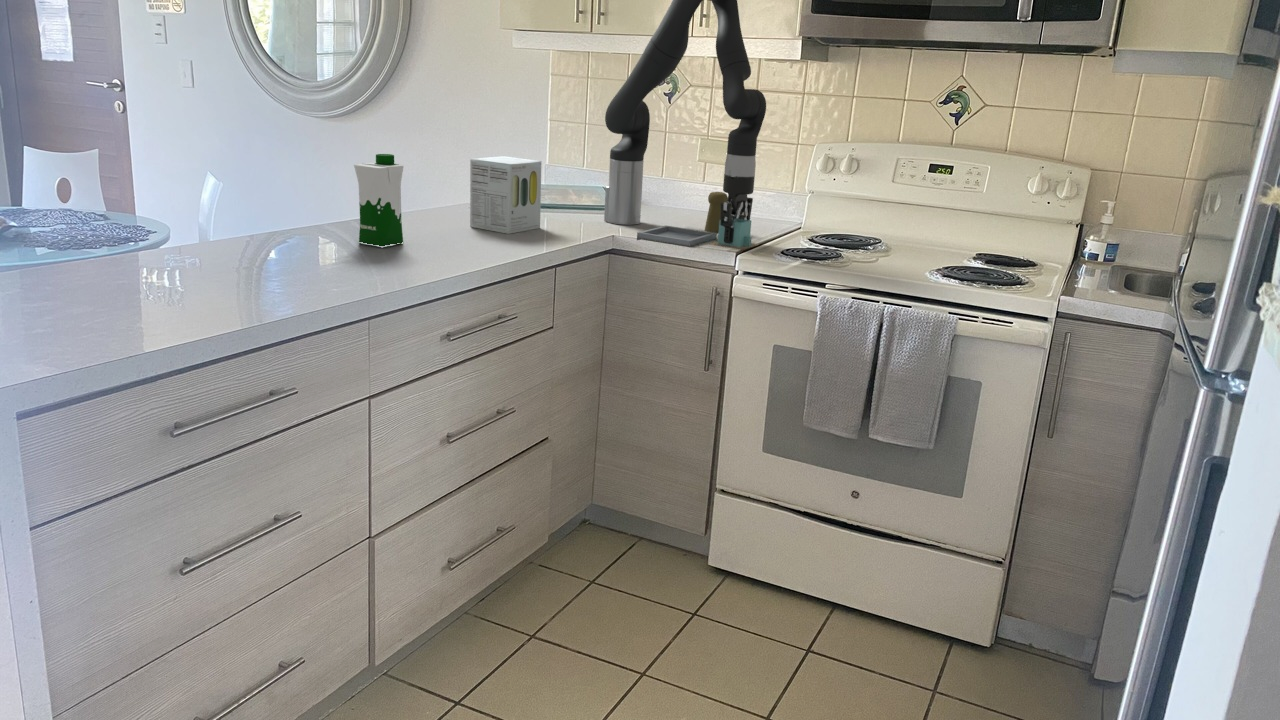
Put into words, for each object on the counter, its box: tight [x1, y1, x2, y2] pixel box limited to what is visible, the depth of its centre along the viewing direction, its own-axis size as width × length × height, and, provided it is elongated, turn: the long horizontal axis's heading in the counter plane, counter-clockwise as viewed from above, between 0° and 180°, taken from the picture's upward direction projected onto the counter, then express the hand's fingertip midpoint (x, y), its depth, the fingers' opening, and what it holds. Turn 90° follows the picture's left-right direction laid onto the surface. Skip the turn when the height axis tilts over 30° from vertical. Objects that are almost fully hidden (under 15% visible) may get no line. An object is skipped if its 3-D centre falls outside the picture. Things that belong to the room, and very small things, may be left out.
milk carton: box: [353, 153, 404, 246], centre depth 212 cm, size 9×9×20 cm
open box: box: [717, 219, 753, 247], centre depth 234 cm, size 8×6×6 cm
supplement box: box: [469, 155, 542, 235], centre depth 241 cm, size 13×13×18 cm
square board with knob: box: [707, 240, 760, 251], centre depth 235 cm, size 10×10×6 cm
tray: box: [636, 225, 718, 248], centre depth 239 cm, size 15×15×2 cm
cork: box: [704, 191, 728, 234], centre depth 251 cm, size 6×6×11 cm
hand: (733, 240), depth 235 cm, fingers closed on open box, 6 cm apart
